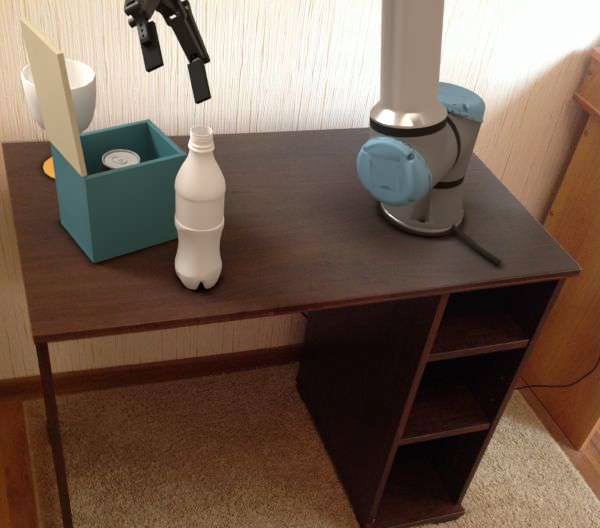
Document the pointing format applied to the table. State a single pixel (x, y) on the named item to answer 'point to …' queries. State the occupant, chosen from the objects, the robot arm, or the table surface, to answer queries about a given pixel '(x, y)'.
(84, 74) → the cup
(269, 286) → the table surface
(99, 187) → the box
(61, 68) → the cooler lid
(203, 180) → the water bottle
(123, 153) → the beverage can
